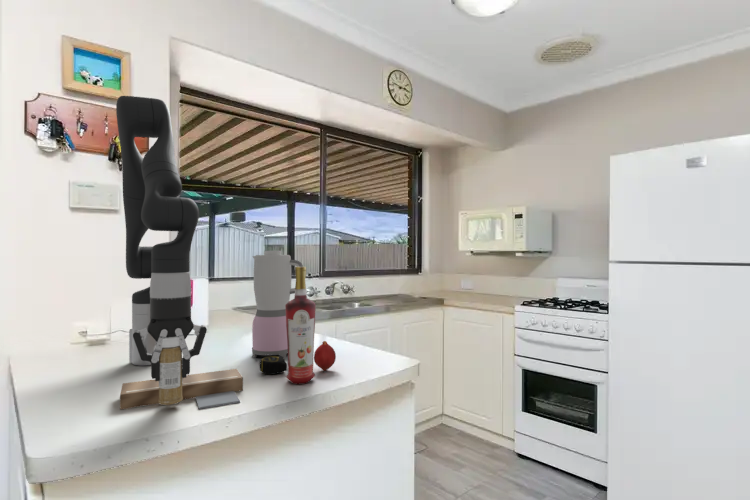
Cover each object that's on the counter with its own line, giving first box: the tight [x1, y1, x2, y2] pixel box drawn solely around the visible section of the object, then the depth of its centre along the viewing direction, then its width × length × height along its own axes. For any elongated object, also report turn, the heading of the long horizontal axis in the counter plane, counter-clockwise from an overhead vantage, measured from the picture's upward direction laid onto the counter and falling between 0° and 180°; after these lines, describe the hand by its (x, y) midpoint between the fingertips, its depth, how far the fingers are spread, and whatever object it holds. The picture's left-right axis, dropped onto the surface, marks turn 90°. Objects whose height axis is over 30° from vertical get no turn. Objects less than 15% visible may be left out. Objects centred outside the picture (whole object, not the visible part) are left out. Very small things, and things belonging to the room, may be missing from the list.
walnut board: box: [119, 368, 244, 410], centre depth 93 cm, size 24×8×3 cm, turn 118°
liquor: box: [285, 266, 317, 385], centre depth 102 cm, size 7×7×28 cm
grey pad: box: [195, 391, 241, 410], centre depth 89 cm, size 8×7×1 cm
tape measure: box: [259, 355, 288, 375], centre depth 110 cm, size 7×7×4 cm
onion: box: [313, 340, 337, 372], centre depth 111 cm, size 6×6×8 cm
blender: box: [251, 250, 304, 359], centre depth 129 cm, size 16×12×32 cm
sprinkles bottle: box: [158, 336, 183, 406], centre depth 85 cm, size 5×5×14 cm
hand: (171, 378), depth 85 cm, fingers closed on sprinkles bottle, 4 cm apart
